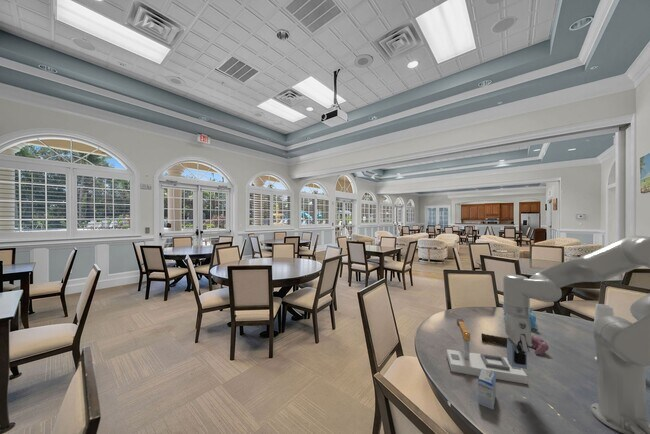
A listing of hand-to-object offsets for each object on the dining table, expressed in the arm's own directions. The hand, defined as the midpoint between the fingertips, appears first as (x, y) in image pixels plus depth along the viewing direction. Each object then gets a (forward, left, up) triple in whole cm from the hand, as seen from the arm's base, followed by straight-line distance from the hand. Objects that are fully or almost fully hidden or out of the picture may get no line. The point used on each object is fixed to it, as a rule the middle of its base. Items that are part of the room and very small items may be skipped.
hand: (516, 359), depth 88 cm
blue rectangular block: (0, 0, -2) cm, 2 cm away
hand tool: (+38, -8, -12) cm, 40 cm away
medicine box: (-8, +12, -12) cm, 19 cm away
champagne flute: (+34, -44, -12) cm, 57 cm away
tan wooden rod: (+19, +13, 0) cm, 24 cm away
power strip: (+12, +8, -12) cm, 18 cm away
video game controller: (+36, -20, -12) cm, 43 cm away
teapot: (+66, -24, -12) cm, 71 cm away
